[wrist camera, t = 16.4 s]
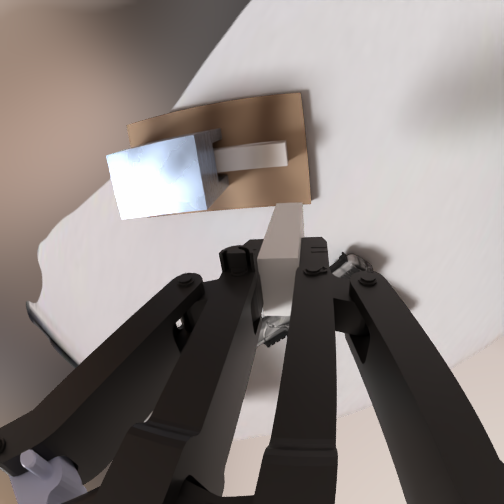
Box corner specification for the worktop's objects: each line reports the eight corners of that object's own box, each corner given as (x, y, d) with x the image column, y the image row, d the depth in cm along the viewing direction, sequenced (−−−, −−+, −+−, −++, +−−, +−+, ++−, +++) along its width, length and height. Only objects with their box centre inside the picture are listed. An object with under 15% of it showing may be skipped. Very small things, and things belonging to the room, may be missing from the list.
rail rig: (300, 93, 26) (300, 88, 20) (310, 201, 31) (312, 221, 26) (130, 124, 30) (101, 130, 24) (150, 214, 35) (126, 234, 30)
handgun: (301, 382, 42) (236, 338, 39) (301, 366, 45) (240, 321, 42) (411, 321, 33) (355, 254, 30) (404, 305, 36) (350, 240, 33)
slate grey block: (220, 128, 28) (193, 134, 21) (229, 185, 31) (207, 209, 24) (146, 142, 29) (106, 155, 22) (157, 194, 32) (122, 219, 25)
